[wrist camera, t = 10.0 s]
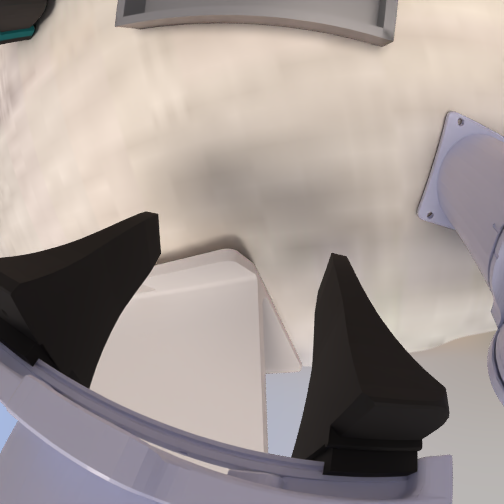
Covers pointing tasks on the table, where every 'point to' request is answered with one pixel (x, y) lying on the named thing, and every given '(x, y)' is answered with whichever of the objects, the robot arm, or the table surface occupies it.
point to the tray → (270, 15)
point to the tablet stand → (199, 351)
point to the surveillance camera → (19, 19)
